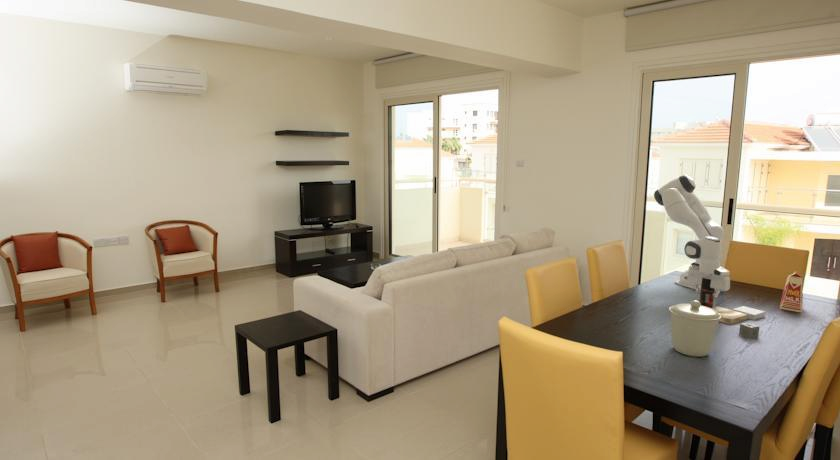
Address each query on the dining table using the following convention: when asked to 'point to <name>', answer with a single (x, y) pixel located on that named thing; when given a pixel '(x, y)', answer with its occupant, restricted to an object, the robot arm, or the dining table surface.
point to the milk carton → (792, 293)
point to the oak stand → (730, 315)
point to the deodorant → (706, 293)
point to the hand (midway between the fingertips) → (706, 295)
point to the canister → (693, 328)
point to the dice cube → (749, 330)
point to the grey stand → (751, 312)
